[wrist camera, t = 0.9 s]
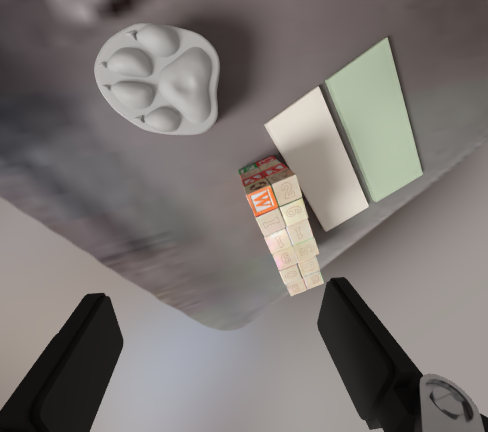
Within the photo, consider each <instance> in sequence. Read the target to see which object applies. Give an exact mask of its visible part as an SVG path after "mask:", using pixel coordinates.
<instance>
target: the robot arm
mask: <svg viewBox="0 0 488 432" xmlns="http://www.w3.org/2000/svg"><path fill="white" fill-rule="evenodd" d="M317 325H318V329H319V332H320V334H321V336H322V338H323V340H324V342H325V345H326V346H327V349H328V351H329V353H330V355H331V357H332V359H333V362H334V364H335V366H336V368H337V370H338V372H339V374H340V376H341V378H342V380H343V383H344V385H345V387H346V389H347V391H348V393H349V395H350V397H351V400H352V402H353V404H354V406H355V408H356V410H357V412H358V414H359V416H360V417H361V419H363V420H365V421H366V423H367V425H368V427H369V429H370V430H372V429H378V428H383V430H384V432H488V418H487V417H486V416H484V415H482V414H480V413H479V411H478V409H477V406H476V405H475V404H474V402H473V401H472V399H471V398H470V397H469V396H468V395H467V394H466V393H465V392H464V391H463V390H462V389H461V388H460V387H458V386H457V385H456V384H455V383H453V382H451V381H450V380H448V379H446V378H444V377H442V376H439V375H435V374H427V375H424V376H423V374H422V373H421V372H420V371H419V369H418V368H417V367H416V366H415V364H414V363H413V362H412V361H411V359H410V358H409V357H408V355H407V354H406V353H405V352H404V351H403V349H402V348H401V347H400V345H399V344H398V343H397V342H396V340H395V339H394V338H393V336H392V335H391V334H390V333H389V331H388V330H387V329H386V328H385V326H384V325H383V324H382V323H381V321H380V320H379V319H378V317H377V316H376V315H375V314H374V312H373V311H372V310H371V309H370V308H369V307H368V306H367V304H366V303H365V302H364V300H363V299H362V298H361V297H360V295H359V294H358V293H357V291H356V290H355V289H354V288H353V286H352V285H351V284H350V283H349V281H348V280H347V279H346V278H344V277H340V278H331V279H330V281H329V282H327V284H326V289H325V293H324V297H323V301H322V305H321V310H320V313H319V318H318V322H317ZM122 348H123V337H122V334H121V331H120V328H119V325H118V321H117V318H116V315H115V312H114V309H113V306H112V303H111V300H110V297H108V296H106V295H105V294H104V293H94V294H87V295H86V296H84V298H83V299H82V300H81V302H80V303H79V305H78V306H77V308H76V309H75V310H74V312H73V313H72V315H71V316H70V317H69V319H68V320H67V321H66V323H65V324H64V326H63V327H62V328H61V330H60V331H59V333H58V334H56V335H55V337H53V339H52V340H51V341H50V343H49V344H48V346H47V347H46V348H45V350H44V351H43V353H42V354H41V355H40V357H39V358H38V359H37V361H36V362H35V364H34V365H33V366H32V368H31V369H30V370H29V372H28V373H27V375H26V376H25V377H24V379H23V380H22V382H21V383H20V384H19V386H18V387H17V388H16V390H15V391H14V393H13V394H12V395H11V397H10V398H9V400H8V401H7V402H6V404H5V405H4V407H3V408H2V409H1V411H0V432H90V429H91V426H92V424H93V421H94V419H95V416H96V414H97V411H98V409H99V406H100V404H101V401H102V398H103V396H104V394H105V391H106V388H107V386H108V383H109V381H110V378H111V376H112V373H113V371H114V368H115V366H116V363H117V361H118V358H119V355H120V353H121V350H122Z"/></svg>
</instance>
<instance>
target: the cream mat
mask: <svg viewBox="0 0 488 432" xmlns="http://www.w3.org/2000/svg"><path fill="white" fill-rule="evenodd" d="M264 125H265V127H266V129H267V131H268V132H269V134H270V136H271V138H272V139H273V141H274V143H275V145H276V146H277V148H278V150H279V152H280V153H281V155H282V157H283V159H284V161H285V162H286V164H287V166H288V168H289V169H290V170H291V171H292V172H293V173H295V174H296V176H297V179H298V183H299V186H300V189H301V190H302V192H303V194H304V196H305V198H306V199H307V201H308V203H309V205H310V206H311V208H312V210H313V212H314V213H315V215H316V217H317V219H318V220H319V222H320V224H321V226H322V227H323V229H324V230H325V232H327V231H329V230H330V229H332V228H334V227H335V226H337V225H339V224H341V223H342V222H344V221H346V220H347V219H349V218H351V217H352V216H354V215H356V214H357V213H359V212H361V211H362V210H364V209H366V208H367V207H369V206H368V203H367V201H366V198H365V196H364V194H363V191H362V189H361V186H360V184H359V182H358V179H357V177H356V174H355V172H354V170H353V167H352V165H351V162H350V160H349V158H348V155H347V153H346V151H345V148H344V146H343V143H342V141H341V139H340V136H339V134H338V131H337V129H336V127H335V124H334V122H333V119H332V117H331V115H330V112H329V110H328V107H327V105H326V103H325V100H324V98H323V95H322V93H321V91H320V88H319V86H318V87H315V88H314V89H312V90H311V91H310V92H308V93H307V94H305V95H304V96H303V97H301V98H300V99H298V100H297V101H296V102H294V103H293V104H291V105H290V106H289V107H287V108H286V109H284V110H283V111H282V112H280V113H279V114H277V115H276V116H275V117H273V118H272V119H270V120H269V121H268V122H266V123H265V124H264Z"/></svg>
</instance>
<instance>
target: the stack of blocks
mask: <svg viewBox="0 0 488 432" xmlns="http://www.w3.org/2000/svg"><path fill="white" fill-rule="evenodd" d="M238 172H239V176H240V178H241V180H242V181H241V182H242V184H243V187H244V190H245V194H246V197H247V199H248V201H249V203H250V206H251V208H252V210H253V213H254V215H255V218H256V220H257V222H258V224H259V226H260V229H261V231H262V233H263V236H264V239H265V241H266V243H267V245H268V248H269V250H270V252H271V254H272V255H273V258H274V260H275V262H276V264H277V267H278V269H279V272H280V274H281V277H282V279H283V281H284V284H286V286H287V289H288V291H289V293H290V295H291V296H293V295H295V294H298V293H301V292H303V291H306V290H307V289H310V288H313V287H315V286H318V285H321V284H323V283H324V281H323V278H322V275H321V272H320V268H319V265H318V262H317V258H316V255H318V254H319V250H318V247H317V244H316V241H315V238H314V236H313V233H312V230H311V227H310V224H309V221H308V214H307V211H306V208H305V204H304V201H303V198H302V193H301V190H300V186H299V183H298V179H297V176H296V174H295V173H293V172H292V171H291V170H289V169H288V167H287V166H285V165H284V164H283V163H281V162H279V161H278V160H277V159H276V158H275V157H274V156H270V157H268V158H265V159H263V160H261V161H258V162H256V163H255V164H252V165H250V166H247V167H245V168H243V169H240V170H238Z"/></svg>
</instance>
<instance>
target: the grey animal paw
mask: <svg viewBox="0 0 488 432" xmlns="http://www.w3.org/2000/svg"><path fill="white" fill-rule="evenodd" d="M94 71H95V78H96V82H97V84H98V87H99V89H100V91H101V93H102V94H103V96H104V97H105V99H106V100H107V101H108V102H109V104H110V105H111V106H112V107H113V108H114V109H115V110H116V111H117V112H118V113H119V114H120V115H122V116H123V117H124V118H126V119H127V120H129V121H130V122H132V123H133V124H135V125H137V126H138V127H140V128H142V129H144V130H147V131H150V132H155V133H161V134H169V135H196V134H201V133H204V132H206V131H208V130H209V129H210V128H211V127H212V126H213V125H214V124H215V122H216V120H217V117H218V102H217V88H218V83H219V74H220V61H219V57H218V54H217V52H216V50H215V48H214V47H213V46H212V44H211V43H210V42H209V41H208V40H207V39H206V38H204V37H203V36H201V35H200V34H198V33H196V32H193V31H190V30H186V29H182V28H178V27H175V26H170V25H164V24H154V23H137V24H134V25H131V26H129V27H127V28H125V29H123V30H121V31H120V32H118V33H117V34H115V35H114V36H112V37H111V38H110V39H109V40H108V41H107V42H106V43H105V44H104V46H103V47H102V49H101V50H100V52H99V54H98V56H97V59H96V62H95V68H94Z"/></svg>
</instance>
